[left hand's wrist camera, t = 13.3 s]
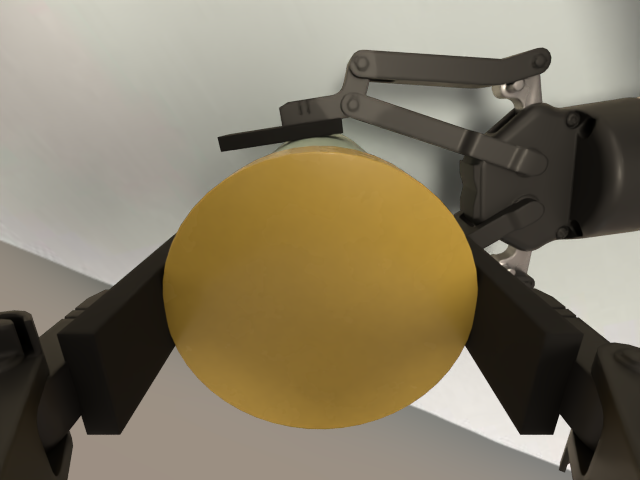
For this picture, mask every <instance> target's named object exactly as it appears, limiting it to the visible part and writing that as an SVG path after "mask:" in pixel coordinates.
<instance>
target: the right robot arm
mask: <svg viewBox="0 0 640 480" xmlns="http://www.w3.org/2000/svg"><path fill="white" fill-rule="evenodd" d="M550 63H551V55H550V52H549V51H548V50H547V49H545V48H537V49H533V50H530V51H526V52H523V53H519V54H516V55H513V56H509V57H506V58H503V59H493V58H478V57H463V56H448V55H433V54H418V53H402V52H387V51H372V50H359V51H357V52H356V53H354V54H353V56H352V57H351V59H350V61H349V62H348V64H347V68H346V74H345V79H344V84H343V87H342V89H341V91H340V92H338V93H337V94H335V95H331V96H324V97H318V98H312V99H306V100H300V101H293V102H288V103H286V104H284V105H283V106H281V107H280V108H279V110H280V115H281V121H282V126H279V127H273V128H266V129H260V130H254V131H247V132H241V133H234V134H229V135H225V136H221V137H218V141H219V145H220V150H221V152H224V151H230V150H237V149H243V148H250V147H256V146H263V145H269V144H276V143H282V142H289V141H295V140H302V139H308V138H315V137H321V136H328V135H334V134H341V133H343V127H342V118H348V117H351V118H354V119H357V120H360V121H363V122H366V123H369V124H372V125H375V126H378V127H381V128H384V129H387V130H390V131H393V132H396V133H399V134H402V135H405V136H408V137H411V138H414V139H417V140H420V141H424V142H427V143H430V144H433V145H436V146H439V147H442V148H445V149H448V150H451V151H454V152H457V153H460V154H463V155H465V156H464V159H463V160H460V175H461V179H462V182H463V189H462V193H461V197H460V210H461V211H459V212H458V213H456V214H454V215H453V216H454V217H455V219H456V221H457V222H458V224H459V226H460V227H461V229H462V230H463V232H464V233H465V234H466V235H467V236H468V237H469V238H471V239H472V240H473V241H474V242H475V243H476V244H478V245H479V246H480V247H481V248H482V249H484V248H485V247H487V246H489V245H491V244H493V243H494V242H496V241H498V240H501V241H503V242H504V243H506V244H508V248H507V249H506V250H505V251H504V252H502V253H500V254H491V256H492V257H493V258H494V259H495V260H497V261H498V262H499V263H500V264H501V265H503V266H504V267H505V268H506V269H507V270H508V271H510V272H511V273H512V274H513V275H514V276H516V277H517V278H518V279H519V280H520V281H522V282H523V283H524V284H525V285H526V286H527V287H529V288H534V286H535V281H534V279H533V278H531V277H530V276H529V275H528V274H527V270H528V266H529V261H530V257H531V252H532V251H533V250H536V249H538V248H540V247H542V246H543V245H545V244H547V243H549V242H551V241H554V240H560V239H581V238H588V237H596V236H603V235H611V234H618V233H625V232H633V231H638V230H640V97H637V98H622V99H616V100H609V101H602V102H596V103H589V104H583V105H576V106H570V107H563V108H556V107H553V106H551V105H549V104H546V103H542V93H541V80H540V74H541V73H543V72H545V71H546V70H547V69H548V67H549V65H550ZM369 82H378V83H394V84H409V85H425V86H440V87H456V88H483V87H491V86H492V91H493V94H494V96H495V97H497V98H499V99H509V100H511V101H512V102H513V104H514V107H515V108H514V109H513V110H511V111H510V112H509V113H508V114H507V115H506V116H505V117H503V118H502V119H501V120H500V121H499V122H498V123H497V124H495V125H494V126H493V127H492V128H491V129H490V130H489V131H488V132H486V133H485V134H481V133H478V132H475V131H471V130H467V129H464V128H461V127H458V126H455V125H452V124H449V123H446V122H443V121H440V120H437V119H434V118H431V117H429V116H426V115H423V114H420V113H417V112H414V111H411V110H408V109H405V108H402V107H399V106H396V105H393V104H390V103H387V102H384V101H381V100H378V99H375V98H372V97H369V96H366V93H367V89H368V85H369ZM474 226H475V227H474Z"/></svg>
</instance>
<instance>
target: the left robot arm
mask: <svg viewBox="0 0 640 480" xmlns="http://www.w3.org/2000/svg"><path fill="white" fill-rule="evenodd" d="M176 234H177V233H176ZM176 234H175V235H173V236H172V237H171V238H170V239H169V240H168V241H166V242H165V243H164V244H163V245H162V246H160V247H159V248H158V249H157V250H156V251H154V252H153V253H152V254H151V255H150V256H149V257H147V258H146V259H145V260H144V261H143V262H141V263H140V264H139V265H138V266H137V267H136V268H134V269H133V270H132V271H131V272H130V273H128V274H127V275H126V276H125V277H124V278H122V279H121V280H120V281H119V282H118V283H117V284H115V285H114V286H113V287H112V288H111V289H109V290H104V291H102V292H100V293H98V294H96V295H93V296H91V297H89V298H88V299H86V300H85V301H84V302H83V303H81V304H80V305H79V306H78V307H76V308H75V310H73V311H71V312H70V313H69V314H68V315H66V316H65V319H61V320H60V321H59V322H58V323H56V324H55V325H54V326H53V327H51V328H50V329H49V330H48V331H46V332H45V333H44V334H43V335H42V336H40V337H39V336H38V333H37V330H36V327H35V324H34V321H33V318H32V315H31V314H30V313H28V312H26V311H15V310H14V311H6V312H0V480H67V479H68V473H69V467H70V461H71V455H72V448H73V442H72V437H71V434H70V431H69V430H70V429H71V427H72V426H73V425H74V424H75V422H76V421H77V420H78V419H79V417H80V416H82V419H83V422H84V426H85V429H86V432H87V434H88V435H120V434H121V433H122V431H123V429H124V428H125V426H126V424H127V423H128V421H129V420H130V418H131V416H132V415H133V413H134V411H135V410H136V408H137V407H138V405H139V403H140V402H141V400H142V399H143V397H144V395H145V394H146V392H147V391H148V389H149V387H150V386H151V384H152V382H153V381H154V379H155V378H156V376H157V374H158V373H159V371H160V370H161V368H162V366H163V365H164V363H165V361H166V360H167V358H168V357H169V355H170V353H171V352H172V350H173V348H174V347H175V343H174V341H173V339H172V337H171V334H170V331H169V328H168V323H167V318H166V312H165V306H164V300H163V276H164V270H165V263H166V259H167V256H168V253H169V250H170V247H171V244H172V242H173V240H174V238H175V236H176ZM464 234H465V233H464ZM465 237H466V239H467V241H468V244H469V246H470V248H471V251H472V255H473V259H474V263H475V266H476V273H477V283H478V295H477V302H476V308H475V314H474V319H473V325H472V329H471V332H470V334H469V337H468V340H467V342H466V344H465V346H466V348H467V349H468V351H469V353H470V354H471V356H472V358H473V359H474V361H475V362H476V364H477V366H478V367H479V369H480V370H481V372H482V374H483V375H484V377H485V379H486V380H487V382H488V383H489V385H490V387H491V388H492V390H493V391H494V393H495V395H496V396H497V398H498V400H499V401H500V403H501V404H502V406H503V408H504V409H505V411H506V412H507V414H508V416H509V417H510V419H511V421H512V422H513V424H514V425H515V427H516V429H517V430H518V432H519V433H520V435H553V434H554V431H555V427H556V424H557V421H558V418H559V414H560V415H561V416H562V417H563V419H564V420H565V421H566V422H567V424H568V425H569V426H570V427H571V431H570V434H569V437H568V440H567V443H566V446H565V449H564V452H563V455H562V458H561V461H560V467H559V470H560V471H562V472H565V470H566V467H567V465H568V464H569V463H570V466H571V472H572V478H573V480H640V348H638V347H635V346H632V345H628V344H621V343H610V342H609V341H608V340H606V339H605V338H604V337H603V336H601V335H600V334H599V333H598V332H596V331H595V330H594V329H592V328H591V327H590V326H589V325H587V324H586V323H585V322H584V321H582V320H581V319H580V318H576V315H575V314H574V313H572V312H571V311H570V310H569V309H566V308H565V306H564V305H562V304H561V303H560V302H559V301H557V300H556V299H555V298H554V297H552V296H550V295H548V294H546V293H544V292H542V291H540V290H537V289H535V288H529V287H527V286H526V285H525V284H524V283H523V282H522V281H520V280H519V279H518V278H517V277H516V276H514V275H513V274H512V273H511V272H510V271H508V270H507V269H506V268H505V267H504V266H503V265H501V264H500V263H499V262H498V261H497V260H495V259H494V258H493V257H492V256H491V255H489V254H488V253H487V252H486V251H485V250H484V249H482V248H481V247H480V246H479V245H478V244H476V243H475V242H474V241H473V240H472V239H471V238H469V237H468V236H467V235H466V234H465Z"/></svg>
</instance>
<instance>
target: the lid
mask: <svg viewBox="0 0 640 480" xmlns="http://www.w3.org/2000/svg"><path fill="white" fill-rule="evenodd" d="M477 295H478V283H477V273H476V266H475V263H474V259H473V255H472V251H471V248H470V246H469V244H468V241H467V239H466V237H465V234H464V232H463V230H462V229H461V227H460V226H459V224H458V222H457V221H456V219H455V217H454V216H453V214H452V213H451V212H450V211H449V210H448V209H447V207H446V206H445V205H444V204H443V203H442V201H441V200H440V199H439V198H438V197H437V196H435V195H434V194H433V193H432V192H431V191H430V190H429V189H427V188H426V187H425V186H424V185H423V184H421V183H420V182H418V181H417V180H416V179H414V178H413V177H411V176H410V175H409V174H407V173H405V172H404V171H402V170H401V169H399V168H398V167H396V166H395V165H393V164H391V163H389V162H387V161H385V160H383V159H381V158H378V157H376V156H374V155H371V154H368V153H364V152H361V151H358V150H355V149H349V148H342V147H336V146H306V147H297V148H291V149H287V150H283V151H279V152H275V153H272V154H270V155H267V156H265V157H262V158H260V159H257V160H255V161H253V162H251V163H249V164H248V165H246V166H244V167H243V168H241V169H239V170H237V171H236V172H235V173H233V174H232V175H230V176H229V177H228V178H226V179H225V180H223V181H222V182H221V183H220V184H218V185H217V186H216V187H214V188H213V189H212V190H211V191H209V192H208V193H207V194H206V195H205V196H204V197H203V198H202V199H201V200H200V201H199V202H198V203H197V204H196V205H195V206H194V207H193V209H192V210H191V211H190V213H189V214H188V216H187V217H186V218H185V220H184V221H183V223H182V224H181V226H180V228H179V230H178V232H177V234H176V236H175V238H174V240H173V242H172V244H171V247H170V250H169V253H168V256H167V259H166V263H165V270H164V276H163V300H164V306H165V312H166V318H167V323H168V328H169V331H170V334H171V337H172V339H173V341H174V343H175V345H176V347H177V350H178V351H179V353H180V355H181V356H182V358H183V359H184V361H185V363H186V364H187V366H188V367H189V368H190V369H191V370H192V372H193V373H194V374H195V375H196V376H197V378H198V379H199V380H200V381H201V382H202V383H203V384H205V385H206V386H207V387H208V388H209V389H210V390H211V391H212V392H213V393H215V394H216V395H218V396H219V397H220V398H222V399H223V400H224V401H226V402H227V403H229V404H231V405H232V406H234V407H236V408H238V409H239V410H241V411H243V412H246V413H248V414H250V415H252V416H254V417H257V418H260V419H263V420H266V421H269V422H272V423H276V424H281V425H285V426H290V427H297V428H306V429H333V428H344V427H350V426H355V425H361V424H364V423H368V422H371V421H375V420H378V419H380V418H383V417H385V416H388V415H390V414H393V413H395V412H397V411H399V410H401V409H403V408H404V407H406V406H408V405H410V404H411V403H413V402H414V401H416V400H417V399H419V398H420V397H422V396H423V395H424V394H426V393H427V392H428V391H429V390H430V389H431V388H433V387H434V386H435V385H436V384H437V383H438V382H439V381H440V380H441V379H442V378H443V377H444V375H445V374H446V373H447V372H448V371H449V370H450V368H451V367H452V366H453V364H454V363H455V361H456V360H457V358H458V357H459V355H460V354H461V352H462V350H463V348H464V346H465V344H466V342H467V340H468V337H469V334H470V332H471V329H472V325H473V319H474V314H475V308H476V302H477Z"/></svg>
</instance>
